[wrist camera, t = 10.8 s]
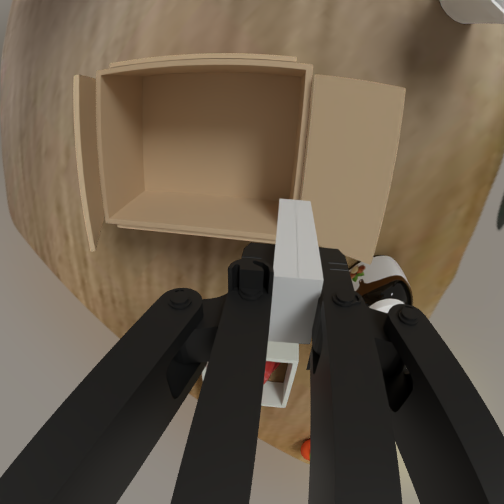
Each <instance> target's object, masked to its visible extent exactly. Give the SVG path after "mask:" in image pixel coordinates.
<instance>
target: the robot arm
mask: <svg viewBox="0 0 504 504" xmlns="http://www.w3.org/2000/svg"><path fill="white" fill-rule="evenodd" d="M311 337H312V349H311V353H310V357H309V361H308V365H307V369H306V370H310V387H311V435H310V477H309V500H308V504H402V497H401V485H400V476H399V467H398V460H397V452H396V445H395V442H396V444H397V446H398V449H399V451H400V454H401V456H402V458H403V461H404V463H405V466H406V468H407V471H408V473H409V476H410V478H411V481H412V483H413V486H414V488H415V491H416V494H417V496H418V499H419V502H420V504H504V436H503V434H502V432H501V431H500V429H499V427H498V425H497V423H496V422H495V420H494V418H493V416H492V415H491V413H490V411H489V410H488V408H487V406H486V405H485V403H484V401H483V400H482V398H481V396H480V395H479V393H478V392H477V390H476V389H475V387H474V385H473V384H472V382H471V381H470V379H469V377H468V376H467V374H466V373H465V371H464V370H463V368H462V367H461V365H460V364H459V362H458V361H457V359H456V358H455V357H454V355H453V354H452V352H451V351H450V349H449V348H448V346H447V345H446V343H445V342H444V341H443V340H442V338H441V336H440V335H439V334H438V332H437V331H436V330H435V328H434V327H433V325H432V324H431V323H430V321H429V320H428V319H427V317H426V316H425V315H424V314H423V313H422V312H421V311H420V310H419V309H417V308H416V307H414V306H411V305H408V304H397V305H394V306H392V307H391V308H390V309H389V312H388V313H385V312H382V311H378V310H375V309H372V308H369V307H368V306H366V304H365V301H364V299H363V298H362V296H361V295H360V294H359V293H357V292H356V291H354V287H353V283H352V280H351V276H350V272H349V269H348V265H347V262H346V258H345V256H344V255H343V253H342V252H341V251H340V250H339V249H333V248H321V247H318V241H317V235H316V229H315V223H314V217H313V212H312V206H311V201H304V200H292V199H279V211H278V222H277V233H276V244H275V245H274V244H262V243H250V244H249V245H248V246H247V247H245V248H244V251H243V254H242V258H241V259H240V260H237V261H235V262H233V263H231V265H230V266H229V267H228V293H227V294H225V295H223V296H221V297H217V298H212V299H202V297H201V295H200V294H199V293H198V292H196V291H194V290H192V289H188V288H177V289H173V290H170V291H167V292H166V293H164V294H163V295H162V296H161V297H160V298H159V299H158V300H157V301H156V302H155V303H154V304H153V305H152V306H151V307H150V308H149V309H148V310H147V311H146V312H145V313H144V314H143V316H142V317H141V318H140V319H139V320H138V321H137V322H136V323H135V324H134V325H133V326H132V327H131V328H130V329H129V330H128V331H127V333H126V334H125V335H124V336H123V337H122V338H121V339H120V340H119V341H118V342H117V343H116V345H114V347H113V348H112V349H111V350H110V351H109V352H108V353H107V354H106V355H105V356H104V358H103V359H102V360H101V361H100V362H99V363H98V364H97V365H96V366H95V367H94V368H93V370H92V371H91V372H90V373H89V374H88V375H87V376H86V377H85V378H84V380H83V381H82V382H81V383H80V384H79V385H78V386H77V388H76V389H75V390H74V391H73V392H72V393H71V394H70V396H69V397H68V398H67V399H66V400H65V401H64V402H63V403H62V405H61V406H60V407H59V408H58V409H57V410H56V411H55V413H54V414H53V415H52V416H51V417H50V419H49V420H48V421H47V422H46V423H45V424H44V425H43V427H42V428H41V429H40V430H39V431H38V432H37V434H36V435H35V436H34V437H33V438H32V440H31V441H30V442H29V443H28V444H27V446H26V447H25V448H24V449H23V451H22V452H21V453H20V454H19V455H18V457H17V458H16V459H15V460H14V462H13V463H12V464H11V465H10V466H9V468H8V469H7V470H6V471H5V473H4V474H3V475H2V477H1V478H0V504H116V503H117V502H118V500H119V499H120V497H121V496H122V494H123V493H124V491H125V490H126V488H127V487H128V485H129V484H130V482H131V481H132V480H133V478H134V477H135V475H136V474H137V472H138V470H139V469H140V468H141V466H142V464H143V463H144V461H145V460H146V458H147V457H148V455H149V454H150V452H151V451H152V449H153V448H154V446H155V445H156V443H157V442H158V440H159V439H160V437H161V436H162V434H163V432H164V431H165V429H166V428H167V426H168V425H169V423H170V422H171V420H172V419H173V417H174V415H175V414H176V412H177V411H178V409H179V408H180V406H181V405H182V403H183V401H184V400H185V398H186V397H187V395H188V394H189V392H190V390H191V389H192V387H193V386H194V384H195V383H196V381H197V379H198V378H199V376H200V375H201V373H202V371H203V370H204V368H205V367H206V365H207V362H208V365H207V369H206V373H205V376H204V380H203V384H202V387H201V391H200V395H199V398H198V402H197V406H196V410H195V413H194V417H193V421H192V425H191V428H190V432H189V435H188V439H187V443H186V447H185V451H184V454H183V458H182V462H181V466H180V470H179V473H178V477H177V481H176V485H175V489H174V493H173V496H172V500H171V504H249V499H250V492H251V485H252V477H253V469H254V462H255V454H256V446H257V437H258V429H259V420H260V412H261V403H262V394H263V385H264V375H265V366H266V356H267V346H268V341H273V342H285V343H299V344H310V342H311Z"/></svg>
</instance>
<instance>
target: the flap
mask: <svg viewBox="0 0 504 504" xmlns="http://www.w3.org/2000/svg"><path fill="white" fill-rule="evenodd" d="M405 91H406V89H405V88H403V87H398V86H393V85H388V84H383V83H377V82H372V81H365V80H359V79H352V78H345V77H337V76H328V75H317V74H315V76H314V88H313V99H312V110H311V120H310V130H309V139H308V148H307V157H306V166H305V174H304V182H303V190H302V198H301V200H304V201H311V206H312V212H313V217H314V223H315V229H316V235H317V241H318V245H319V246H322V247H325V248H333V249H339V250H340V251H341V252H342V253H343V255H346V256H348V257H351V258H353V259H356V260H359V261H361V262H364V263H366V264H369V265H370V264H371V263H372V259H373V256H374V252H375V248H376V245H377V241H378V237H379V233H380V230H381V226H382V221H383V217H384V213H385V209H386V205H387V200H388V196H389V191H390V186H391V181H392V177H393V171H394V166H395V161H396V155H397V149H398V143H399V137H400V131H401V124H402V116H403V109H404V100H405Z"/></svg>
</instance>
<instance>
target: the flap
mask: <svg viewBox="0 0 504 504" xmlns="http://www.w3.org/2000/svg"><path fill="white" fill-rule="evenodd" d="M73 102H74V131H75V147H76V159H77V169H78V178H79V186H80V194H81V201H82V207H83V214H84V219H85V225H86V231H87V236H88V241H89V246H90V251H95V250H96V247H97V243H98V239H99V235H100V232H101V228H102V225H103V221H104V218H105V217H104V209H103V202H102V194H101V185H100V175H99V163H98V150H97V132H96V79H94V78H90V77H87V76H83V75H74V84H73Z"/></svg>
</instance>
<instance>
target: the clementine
mask: <svg viewBox="0 0 504 504" xmlns="http://www.w3.org/2000/svg"><path fill="white" fill-rule="evenodd" d="M301 454H302V456H303V457H304V458H305V459H307V460H309V461H310V439H309V440H307V441H305V442H304V443H303V445H302V446H301Z"/></svg>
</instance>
